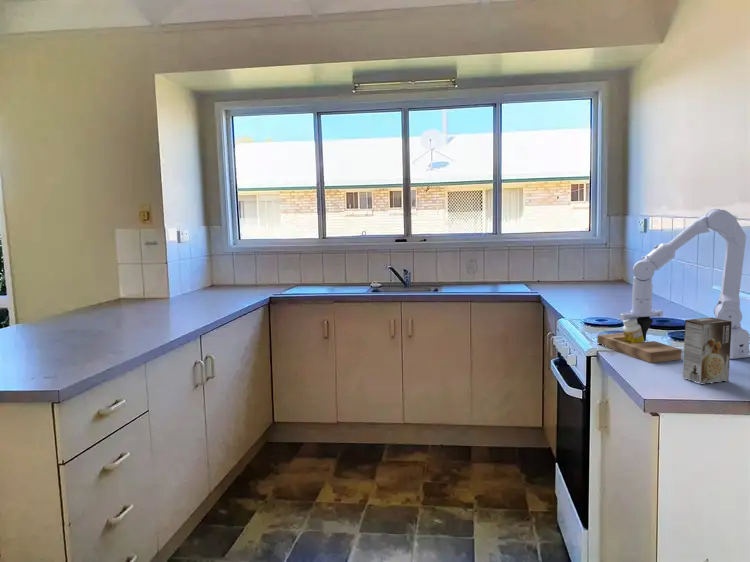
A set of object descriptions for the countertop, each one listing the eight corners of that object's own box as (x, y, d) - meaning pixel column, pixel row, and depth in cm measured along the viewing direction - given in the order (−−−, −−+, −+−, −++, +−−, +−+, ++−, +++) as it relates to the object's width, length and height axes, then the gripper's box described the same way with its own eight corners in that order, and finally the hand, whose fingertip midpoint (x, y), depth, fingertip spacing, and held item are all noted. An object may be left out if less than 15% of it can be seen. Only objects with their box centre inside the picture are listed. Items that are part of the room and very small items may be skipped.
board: (681, 359, 175) (681, 349, 175) (650, 362, 172) (650, 352, 172) (625, 341, 198) (625, 332, 198) (597, 344, 195) (597, 335, 195)
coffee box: (709, 374, 160) (712, 316, 158) (729, 381, 154) (733, 321, 152) (681, 378, 157) (684, 319, 155) (700, 385, 151) (704, 324, 149)
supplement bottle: (648, 347, 186) (642, 319, 184) (632, 352, 186) (626, 324, 184) (639, 342, 191) (633, 315, 189) (624, 347, 191) (617, 320, 189)
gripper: (652, 294, 193) (650, 335, 195) (614, 298, 189) (613, 339, 191) (668, 298, 186) (666, 340, 188) (629, 302, 182) (627, 344, 184)
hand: (640, 340), depth 189 cm, fingers closed, pressing on supplement bottle
